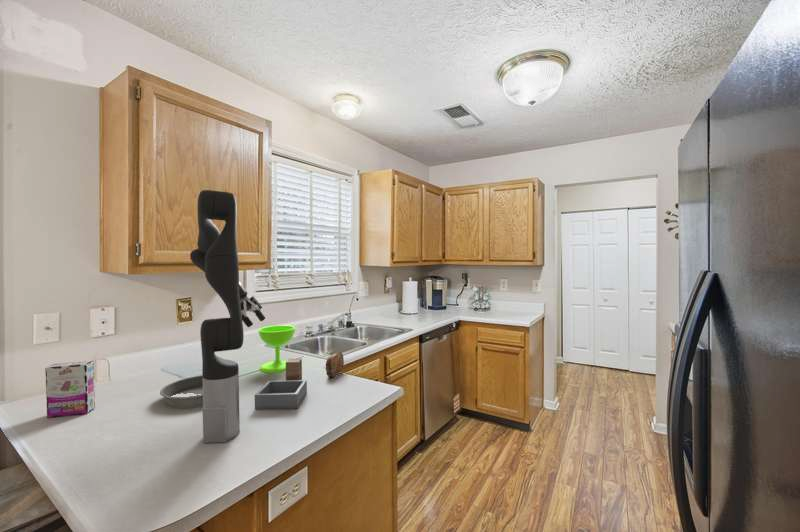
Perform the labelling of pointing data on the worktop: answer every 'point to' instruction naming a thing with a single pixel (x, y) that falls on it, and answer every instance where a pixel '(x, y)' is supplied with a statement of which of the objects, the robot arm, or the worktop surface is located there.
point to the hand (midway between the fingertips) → (257, 322)
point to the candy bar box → (70, 389)
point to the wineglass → (276, 345)
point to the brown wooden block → (294, 369)
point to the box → (281, 395)
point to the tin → (334, 364)
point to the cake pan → (184, 392)
